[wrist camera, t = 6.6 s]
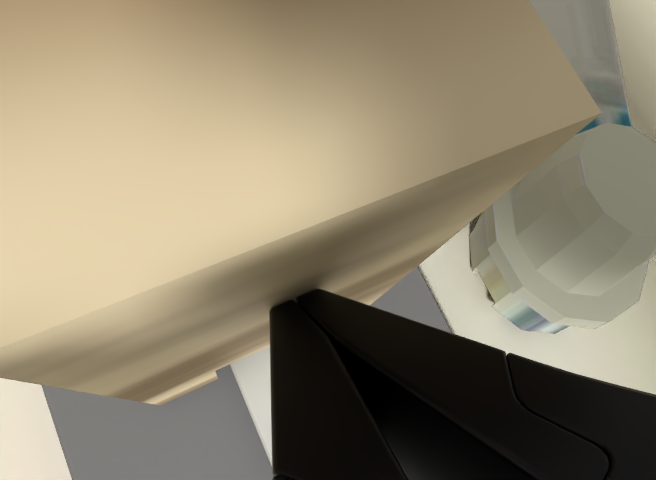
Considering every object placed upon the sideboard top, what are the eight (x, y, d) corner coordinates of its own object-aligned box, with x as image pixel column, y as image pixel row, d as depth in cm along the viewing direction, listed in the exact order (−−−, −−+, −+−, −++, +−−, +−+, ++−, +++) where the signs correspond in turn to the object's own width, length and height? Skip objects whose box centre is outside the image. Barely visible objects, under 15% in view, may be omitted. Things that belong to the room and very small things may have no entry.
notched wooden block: (356, 316, 17) (602, 113, 6) (160, 405, 15) (-51, 368, 4) (292, 181, 18) (391, -215, 7) (102, 250, 16) (-195, -130, 5)
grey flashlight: (600, -234, 24) (789, 279, 13) (526, -89, 30) (610, 351, 19) (489, -263, 23) (586, 252, 12) (436, -108, 29) (467, 336, 18)
